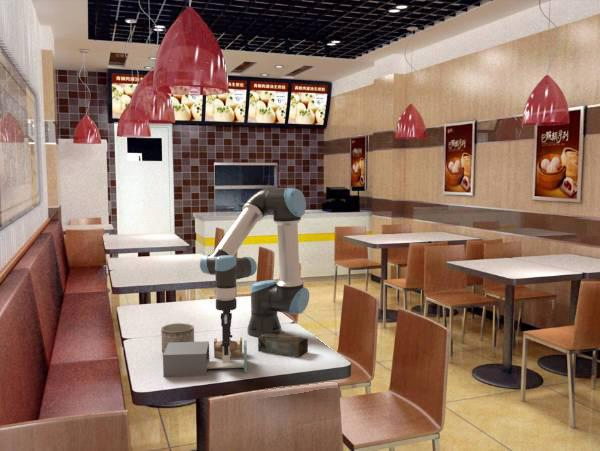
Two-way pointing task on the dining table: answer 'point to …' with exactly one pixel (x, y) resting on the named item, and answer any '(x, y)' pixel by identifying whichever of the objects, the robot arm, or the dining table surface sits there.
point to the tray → (232, 363)
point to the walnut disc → (232, 346)
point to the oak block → (233, 354)
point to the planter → (176, 334)
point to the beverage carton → (283, 344)
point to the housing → (185, 359)
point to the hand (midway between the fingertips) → (226, 359)
